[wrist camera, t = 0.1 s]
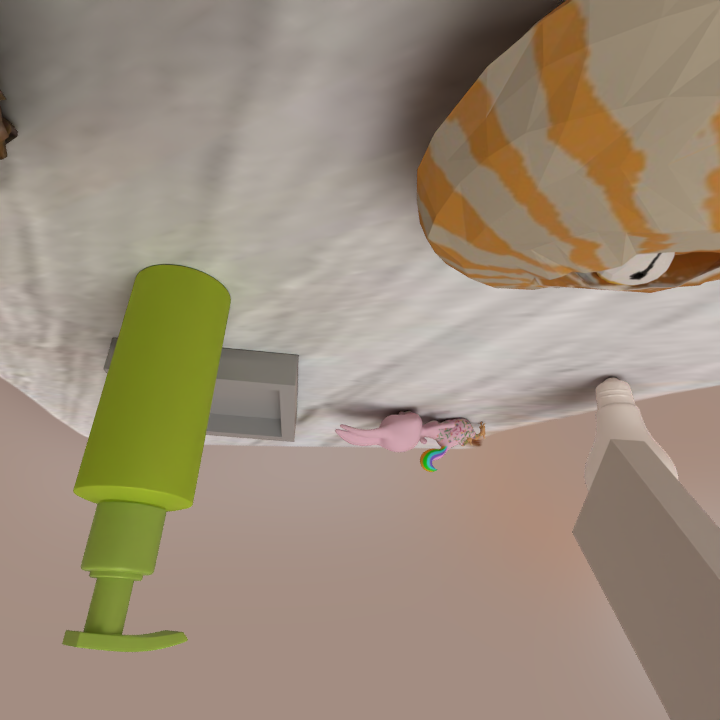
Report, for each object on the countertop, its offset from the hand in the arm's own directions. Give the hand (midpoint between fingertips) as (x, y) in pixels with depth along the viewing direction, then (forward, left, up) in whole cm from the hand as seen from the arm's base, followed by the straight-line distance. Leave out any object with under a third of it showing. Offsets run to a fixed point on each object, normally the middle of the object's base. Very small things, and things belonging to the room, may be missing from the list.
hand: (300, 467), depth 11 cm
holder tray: (+32, -8, -15) cm, 37 cm away
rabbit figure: (+36, +10, -16) cm, 40 cm away
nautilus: (+1, +14, -16) cm, 21 cm away
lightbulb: (+24, +24, -16) cm, 37 cm away
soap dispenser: (+18, -8, -16) cm, 25 cm away
